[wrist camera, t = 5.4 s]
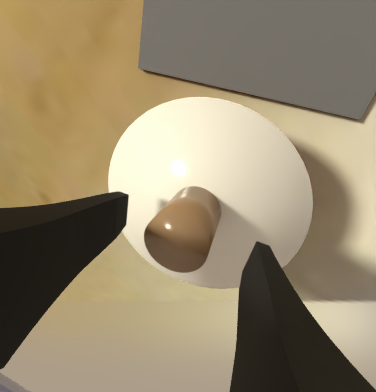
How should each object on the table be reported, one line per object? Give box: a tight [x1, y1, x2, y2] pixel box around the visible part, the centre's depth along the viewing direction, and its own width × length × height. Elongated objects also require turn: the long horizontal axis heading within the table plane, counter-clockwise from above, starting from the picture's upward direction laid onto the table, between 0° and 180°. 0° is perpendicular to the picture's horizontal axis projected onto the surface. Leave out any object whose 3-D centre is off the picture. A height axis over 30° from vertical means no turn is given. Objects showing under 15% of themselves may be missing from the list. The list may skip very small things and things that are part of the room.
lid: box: [108, 97, 313, 289], centre depth 11 cm, size 12×12×4 cm
